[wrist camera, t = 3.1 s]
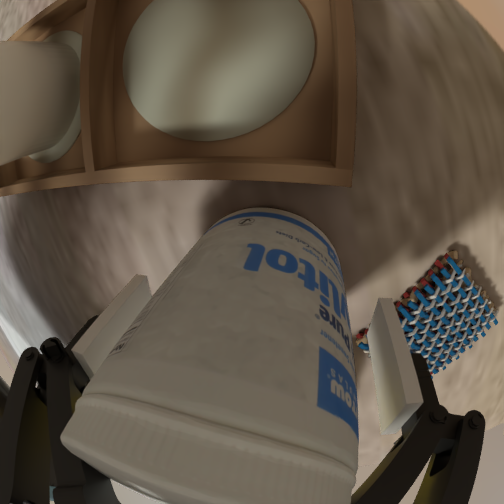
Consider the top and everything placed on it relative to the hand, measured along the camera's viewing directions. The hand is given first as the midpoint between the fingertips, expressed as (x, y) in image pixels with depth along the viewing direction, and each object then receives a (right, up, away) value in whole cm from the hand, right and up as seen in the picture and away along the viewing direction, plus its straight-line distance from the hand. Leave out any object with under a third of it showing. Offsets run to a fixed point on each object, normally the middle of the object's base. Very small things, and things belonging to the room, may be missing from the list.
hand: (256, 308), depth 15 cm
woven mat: (+15, -3, +4) cm, 15 cm away
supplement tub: (+1, +2, +4) cm, 4 cm away
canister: (-16, +15, -1) cm, 22 cm away
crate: (-9, +15, -2) cm, 18 cm away
